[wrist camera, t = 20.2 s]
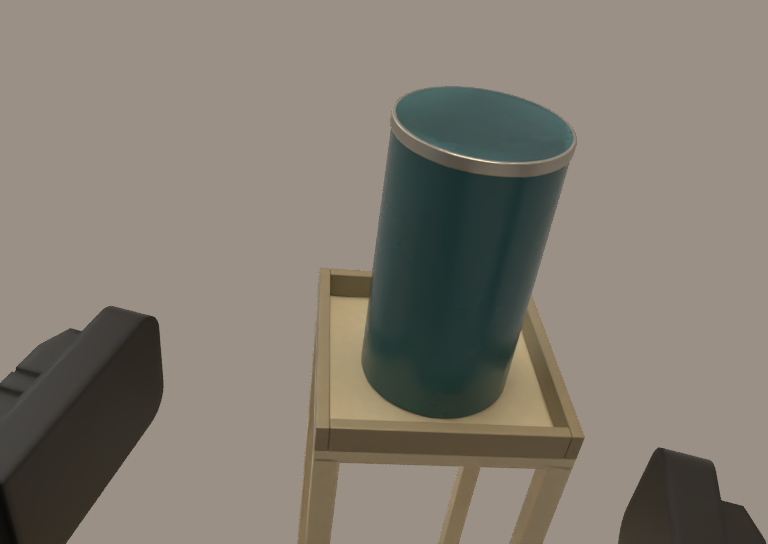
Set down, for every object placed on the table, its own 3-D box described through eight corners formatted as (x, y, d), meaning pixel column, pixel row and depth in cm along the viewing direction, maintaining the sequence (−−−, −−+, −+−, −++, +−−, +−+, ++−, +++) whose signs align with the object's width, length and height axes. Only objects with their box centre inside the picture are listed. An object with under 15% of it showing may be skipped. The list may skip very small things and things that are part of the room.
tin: (538, 387, 25) (616, 145, 20) (418, 442, 22) (472, 178, 17) (445, 304, 28) (492, 78, 23) (331, 343, 25) (355, 97, 20)
